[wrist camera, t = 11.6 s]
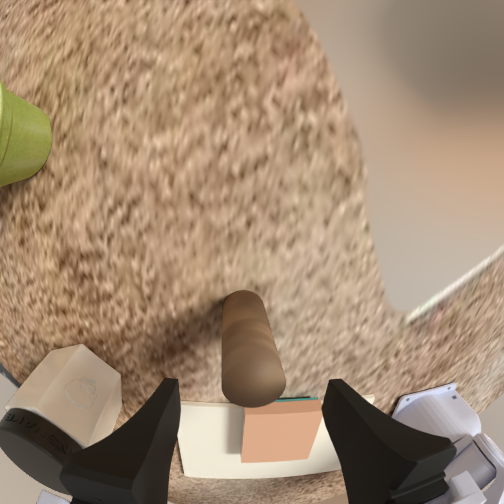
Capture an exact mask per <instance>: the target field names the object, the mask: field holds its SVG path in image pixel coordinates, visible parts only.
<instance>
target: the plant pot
mask: <svg viewBox="0 0 504 504" xmlns="http://www.w3.org/2000/svg"><path fill="white" fill-rule="evenodd" d="M51 145H52V132H51V125H50V119H49V117H48V115H47V114H46V113H45V112H44V111H42V110H41V109H39V108H37V107H36V106H34V105H32V104H31V103H29V102H27V101H25V100H24V99H22V98H21V97H19V96H17V95H16V94H14V93H13V92H11V91H9V90H8V89H7V88H6V86H5V85H4V84H3V83H2V82H1V79H0V187H1V186H4V185H8V184H11V183H14V182H18V181H21V180H25V179H27V178H29V177H31V176H33V175H34V174H36V173H37V172H38V171H39V170H40V169H41V168H42V166H43V165H44V163H45V161H46V160H47V158H48V155H49V152H50V149H51Z"/></svg>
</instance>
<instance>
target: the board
mask: <svg viewBox="0 0 504 504" xmlns="http://www.w3.org/2000/svg"><path fill="white" fill-rule="evenodd" d="M362 397H363V398H364V399H366V400H367V401H368V402H369V403H371V404H373V401H374V399H375V396H374V395H373V394H369V395H362ZM320 401H321V403H322V404H323V401H324V400H320ZM180 403H181V416H180V425H179V430H178V435H177V436H178V442H179V447H180V453H181V458H182V464H183V469H184V474H185V476H188V477H201V478H221V479H255V478H275V477H288V476H298V475H307V474H314V473H321V472H328V471H334V470H339V469H341V465H340V462H339V459H338V456H337V454H336V451H335V449H334V446H333V444H332V441H331V439H330V437H329V434H328V431H327V429H326V426H325V423H324V419H323V417H322V420H321V423H320V426H319V429H318V432H317V435H316V438H315V440H314V443H313V446H312V449H311V451H310V454H309V457H308V459H302V460H292V461H279V462H260V463H241V455H240V449H241V437H242V424H243V411H244V407H241V406H238V405H235V404H233V403H208V402H192V401H180Z"/></svg>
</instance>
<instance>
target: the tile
mask: <svg viewBox="0 0 504 504" xmlns="http://www.w3.org/2000/svg"><path fill="white" fill-rule="evenodd" d="M321 407H322V403H321V401H320V399H318V397H317V398H303V399H285V400H275V401H274V402H272V403H270V404H268V405H266V406H262V407H257V408H246V407H244V411H243V424H242V437H241V449H240V455H241V463H260V462H279V461H292V460H302V459H308V457H309V454H310V451H311V449H312V446H313V443H314V440H315V438H316V435H317V432H318V429H319V426H320V423H321V420H322V417H323V415H322V410H321Z"/></svg>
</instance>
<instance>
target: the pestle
mask: <svg viewBox="0 0 504 504" xmlns="http://www.w3.org/2000/svg"><path fill="white" fill-rule="evenodd" d="M285 387H286V378H285V375H284V371H283V368H282V365H281V361H280V358H279V355H278V351H277V348H276V345H275V341H274V338H273V334H272V331H271V328H270V324H269V321H268V318H267V314H266V311H265V307H264V304H263V301H262V300H261V298H260V297H259V296H258V295H257V294H255V293H253V292H251V291H246V290H241V291H236V292H234V293H232V294H231V295H229V296H228V297H227V298H226V299H225V301H224V303H223V307H222V392H223V394H224V396H225V397H226V398H227V399H228V400H229V401H230V402H232V403H233V404H235V405H238V406H241V407H246V408H257V407H262V406H266V405H268V404H270V403H272V402H274V401H275V400H277V399H278V398H279V397H280V396H281V395H282V393H283V392H284V390H285Z"/></svg>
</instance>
